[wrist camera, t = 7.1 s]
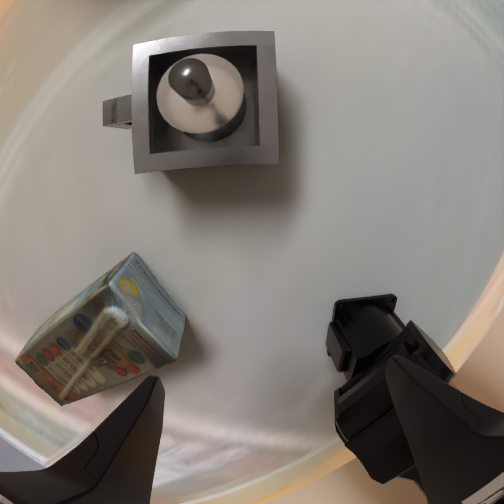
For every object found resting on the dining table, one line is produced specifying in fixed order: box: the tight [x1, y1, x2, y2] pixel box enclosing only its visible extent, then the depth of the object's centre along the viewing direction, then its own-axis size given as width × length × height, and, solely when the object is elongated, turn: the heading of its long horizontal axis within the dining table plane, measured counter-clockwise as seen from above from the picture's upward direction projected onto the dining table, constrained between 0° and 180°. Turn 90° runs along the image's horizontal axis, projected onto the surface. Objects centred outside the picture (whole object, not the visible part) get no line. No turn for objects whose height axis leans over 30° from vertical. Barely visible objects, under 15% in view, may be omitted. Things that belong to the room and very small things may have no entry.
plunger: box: [157, 54, 247, 142], centre depth 13 cm, size 5×5×9 cm
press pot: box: [103, 31, 279, 174], centre depth 15 cm, size 10×8×5 cm
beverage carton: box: [15, 252, 186, 406], centre depth 21 cm, size 8×19×7 cm, turn 121°
